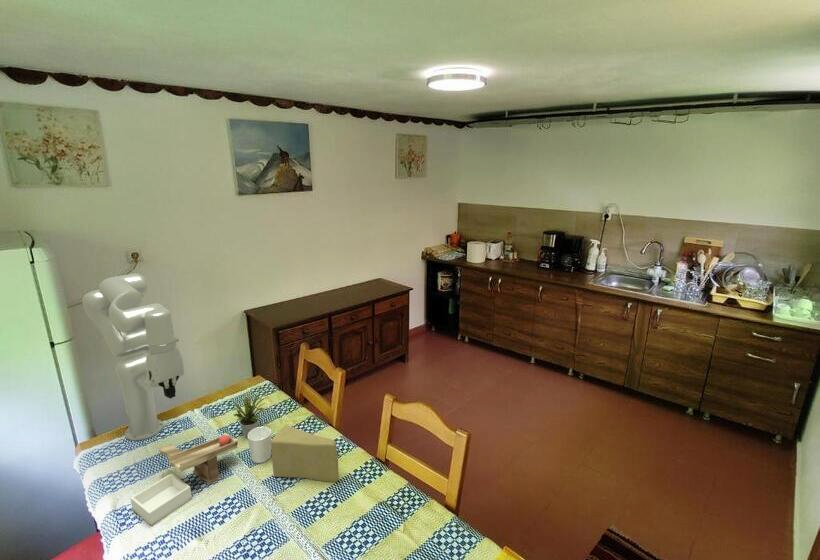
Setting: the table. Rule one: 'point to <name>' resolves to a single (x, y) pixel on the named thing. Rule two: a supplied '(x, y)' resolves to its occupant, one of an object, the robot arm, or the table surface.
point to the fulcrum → (208, 470)
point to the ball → (224, 440)
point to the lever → (197, 453)
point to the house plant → (248, 415)
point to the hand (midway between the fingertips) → (170, 396)
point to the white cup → (260, 444)
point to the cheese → (304, 455)
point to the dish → (161, 499)
